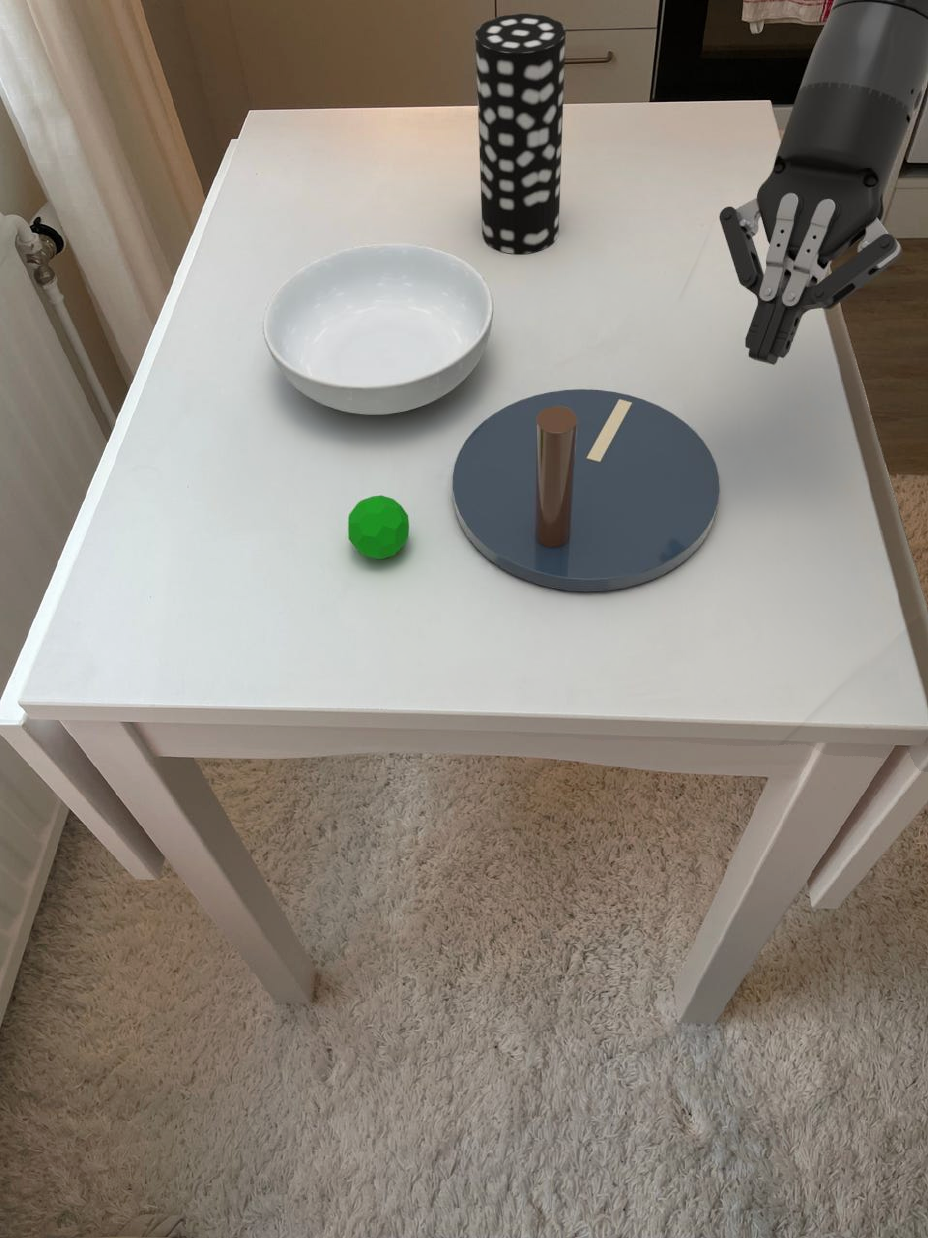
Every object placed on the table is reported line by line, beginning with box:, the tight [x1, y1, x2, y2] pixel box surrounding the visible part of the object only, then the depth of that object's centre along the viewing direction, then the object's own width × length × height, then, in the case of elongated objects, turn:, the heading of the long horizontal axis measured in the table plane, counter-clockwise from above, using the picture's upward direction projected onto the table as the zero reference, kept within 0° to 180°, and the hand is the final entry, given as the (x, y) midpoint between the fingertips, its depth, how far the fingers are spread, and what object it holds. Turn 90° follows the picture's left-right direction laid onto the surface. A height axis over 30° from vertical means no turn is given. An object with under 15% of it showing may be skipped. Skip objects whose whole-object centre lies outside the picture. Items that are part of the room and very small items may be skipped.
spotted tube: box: [475, 13, 567, 255], centre depth 96 cm, size 8×8×20 cm
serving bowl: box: [262, 242, 494, 416], centre depth 88 cm, size 21×21×7 cm
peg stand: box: [452, 388, 721, 592], centre depth 75 cm, size 22×22×14 cm
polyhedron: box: [347, 494, 410, 560], centre depth 76 cm, size 5×5×5 cm
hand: (761, 360), depth 68 cm, fingers closed
